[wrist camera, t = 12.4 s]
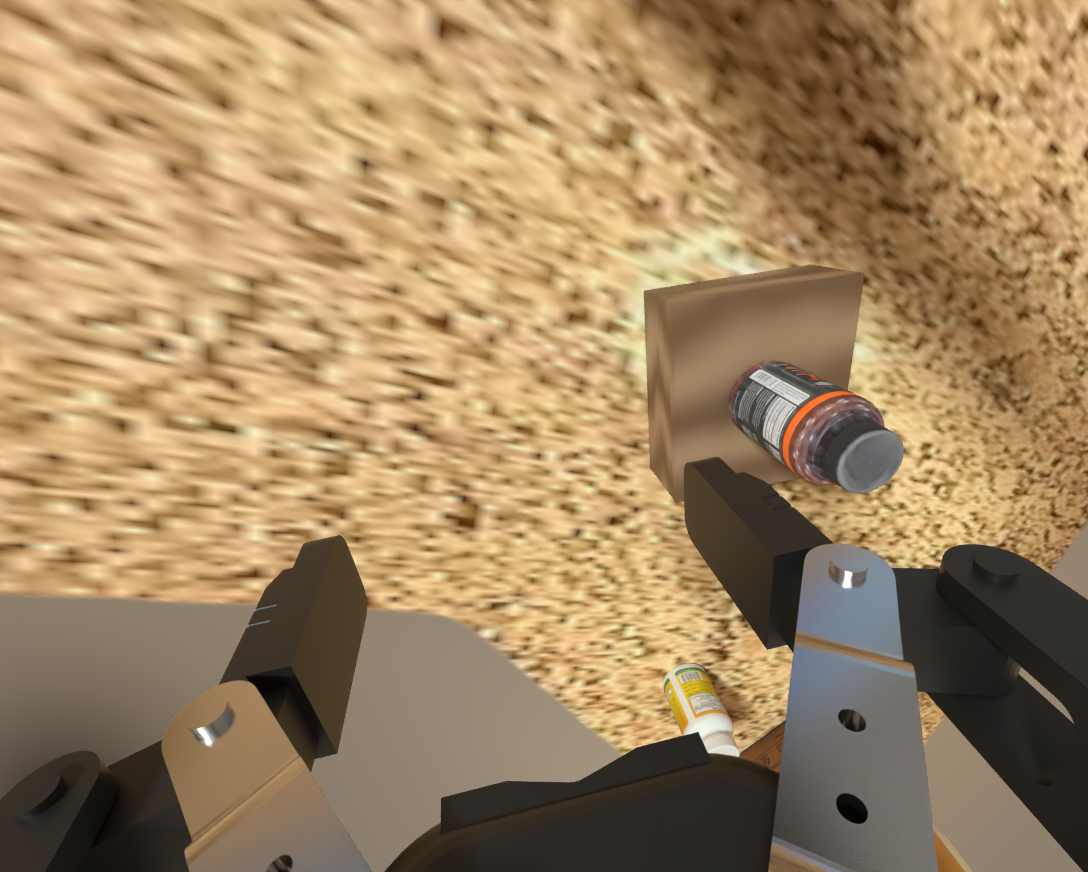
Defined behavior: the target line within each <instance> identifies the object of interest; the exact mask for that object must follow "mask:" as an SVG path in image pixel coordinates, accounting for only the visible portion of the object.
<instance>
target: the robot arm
mask: <svg viewBox="0 0 1088 872" xmlns="http://www.w3.org/2000/svg"><path fill="white" fill-rule="evenodd" d="M684 507H685V523H686V527H687V531H688V534H689V536H690V538H691V540H692V542H693V544H694V545H695V547H696V548H697V550H698V551H699V552H700V554H701V555H702V557H703V558H704V560H705V561H706V562H707V564H708V565H709V567H710V568H711V570H712V571H713V573H714V574H715V575H716V577H717V578H718V580H719V581H720V583H721V584H722V585H723V587H724V588H725V590H726V591H727V593H728V594H729V596H730V597H731V598H732V600H733V601H734V603H735V604H736V606H737V607H738V608H739V610H740V611H741V613H742V614H743V616H744V617H745V619H746V620H747V621H748V623H749V624H750V626H751V627H752V629H753V630H754V631H755V633H756V634H757V636H758V637H759V639H760V640H761V641H762V643H763V644H764V646H765V647H766V649H767V650H768V649H772V648H776V647H780V646H784V645H788V646H789V648H790V649H791V650H792V652H793V661H792V670H791V679H790V688H789V696H788V705H787V714H786V723H785V731H784V740H783V749H782V757H781V766H780V773H778V772H776V771H774V770H772V769H770V768H768V767H766V766H764V765H761V764H758V763H756V762H753V761H751V760H747V759H744V758H740V757H736V756H732V755H725V754H718V753H708V752H707V750H706V748H705V745H704V743H703V741H702V739H701V737H700V734H699V732H696V733H692V734H688V735H684V736H680V737H676V738H672V739H668V740H665V741H661V742H657V743H653V744H649V745H645V746H641V747H637V748H635V749H634V750H632V751H630V752H629V753H627V754H625V755H623V756H622V757H620V758H618V759H616V760H615V761H613V762H611V763H610V764H608V765H606V766H604V767H603V768H601V769H599V770H598V771H596V772H594V773H592V774H591V775H589V776H587V777H585V778H584V779H582V780H580V781H577V782H570V783H566V782H564V783H563V782H521V781H505V782H501V783H498V784H493V785H490V786H486V787H482V788H478V789H474V790H470V791H466V792H462V793H459V794H455V795H451V796H447V797H443V798H441V823H440V824H438V825H436V826H434V827H433V828H431V829H430V830H429V831H427V832H426V833H424V834H423V835H421V836H420V837H419V838H417V839H416V840H415V841H414V842H413V843H412V844H410V845H409V846H408V847H407V848H406V849H405V850H404V851H403V852H402V853H401V854H400V855H399V856H398V857H397V858H396V859H395V860H394V861H393V863H392V864H391V865H390V866H389V867H388V868H387V869H386V871H385V872H938V865H937V856H936V848H935V839H934V831H933V822H932V813H931V805H930V796H929V788H928V779H927V772H926V762H925V753H924V745H923V736H922V727H921V719H920V710H919V702H918V693H917V691H921V692H926V693H927V694H928V695H929V697H930V698H931V699H932V700H933V701H934V702H935V703H936V705H937V706H938V707H939V708H940V709H941V710H942V711H943V712H944V714H945V715H946V716H947V717H948V718H949V719H950V720H951V722H953V724H954V725H955V726H956V727H957V728H958V730H959V731H960V732H961V733H962V734H963V735H964V736H965V737H966V738H967V740H968V741H969V742H970V743H971V744H972V745H973V747H975V749H976V750H977V751H978V752H979V753H980V754H981V756H982V757H983V758H984V759H985V760H986V761H987V763H988V764H989V765H990V766H991V767H992V768H993V769H994V770H995V772H996V773H997V774H998V775H999V776H1000V777H1001V778H1002V779H1003V781H1004V782H1005V783H1006V784H1007V785H1008V786H1009V787H1010V789H1011V790H1012V791H1013V792H1014V793H1015V794H1016V795H1017V797H1018V798H1019V799H1020V800H1021V801H1022V802H1023V803H1024V805H1025V806H1026V807H1027V808H1028V809H1029V810H1030V811H1031V813H1032V814H1033V815H1034V816H1035V817H1036V818H1037V819H1038V821H1040V823H1041V824H1042V825H1043V826H1044V827H1045V829H1046V830H1047V831H1048V832H1049V833H1050V834H1051V835H1052V836H1053V838H1054V839H1055V840H1056V841H1057V842H1058V843H1059V844H1060V846H1061V847H1062V848H1063V849H1064V850H1065V851H1066V852H1067V853H1068V854H1069V856H1070V857H1071V858H1072V859H1073V860H1074V861H1075V863H1076V864H1077V865H1078V866H1079V867H1080V868H1081V869H1082V871H1083V872H1088V600H1087V599H1086V598H1084V597H1083V596H1081V595H1079V594H1078V593H1077V592H1075V591H1074V590H1072V589H1071V588H1069V587H1068V586H1066V585H1065V584H1064V583H1062V582H1061V581H1059V580H1057V579H1056V578H1055V577H1053V576H1052V575H1050V574H1049V573H1047V572H1046V571H1044V570H1043V569H1041V568H1040V567H1038V566H1037V565H1035V564H1034V563H1032V562H1031V561H1029V560H1027V559H1025V558H1023V557H1021V556H1019V555H1017V554H1015V553H1012V552H1010V551H1006V550H1003V549H1000V548H996V547H992V546H985V545H976V544H966V545H959V546H955V547H952V548H950V549H948V550H947V551H946V552H945V553H944V555H943V558H942V562H941V565H940V569H916V568H891V567H890V566H889V564H888V563H887V562H885V561H884V560H883V559H882V558H880V557H879V556H877V555H876V554H874V553H872V552H870V551H868V550H865V549H863V548H860V547H856V546H852V545H847V544H834V543H833V542H831V541H830V540H829V539H828V538H827V537H826V536H825V535H824V534H823V533H822V532H820V531H819V530H818V529H817V528H816V527H815V526H814V525H813V524H812V523H810V522H809V521H808V520H807V519H806V518H805V517H804V516H803V515H802V514H801V513H799V512H798V511H797V510H796V509H795V508H794V507H793V508H792V507H791V504H789V503H788V502H787V501H786V500H785V499H784V498H783V497H780V496H779V494H778V493H777V492H776V491H775V490H774V489H773V488H772V487H771V486H770V485H769V484H767V483H766V482H765V481H763V480H761V479H759V478H757V477H754V476H752V475H750V474H748V473H745V472H742V473H738V474H736V473H735V472H734V471H733V470H732V469H731V468H730V467H729V466H728V465H727V464H726V463H725V462H724V461H723V460H722V459H721V458H719V457H712V458H707V459H702V460H698V461H693V462H688V463H686V464H685V466H684ZM256 609H257V611H255V612H254V614H253V615H252V618H251V620H250V622H249V627H248V628H246V630H245V632H244V634H243V636H242V638H241V640H240V642H239V644H238V647H237V648H236V651H235V653H234V655H233V657H232V659H231V661H230V663H229V665H228V667H227V669H226V671H225V673H224V675H223V678H222V679H221V682H220V684H219V685H218V686H215V687H213V688H211V689H209V690H207V691H206V692H204V693H202V694H201V695H199V696H198V697H196V698H195V699H194V700H192V701H191V702H190V703H189V704H187V705H186V706H185V707H184V708H183V709H182V710H181V711H180V712H179V713H178V714H177V715H176V717H175V718H174V719H173V720H172V722H171V723H170V725H169V726H168V728H167V730H166V732H165V734H164V737H163V740H161V741H159V742H157V743H155V744H153V745H151V746H149V747H147V748H145V749H143V750H141V751H139V752H137V753H134V754H132V755H130V756H129V757H126V758H124V759H122V760H120V761H118V762H116V763H114V764H112V765H110V766H108V767H107V766H106V765H105V764H104V763H103V761H102V760H101V759H100V758H99V757H98V756H97V755H96V754H95V753H93V752H89V751H78V752H74V753H70V754H67V755H64V756H61V757H59V758H57V759H55V760H53V761H51V762H49V763H47V764H45V765H43V766H42V767H40V768H39V769H37V770H36V771H34V772H32V773H31V774H30V775H28V776H27V777H26V778H24V779H23V780H22V781H20V782H19V783H18V784H17V785H16V786H14V787H13V788H12V789H11V790H10V791H9V792H8V793H7V794H6V795H5V796H4V797H3V798H2V799H1V800H0V872H373V871H372V869H371V867H370V866H369V864H368V863H367V861H366V859H365V858H364V857H363V855H362V853H361V852H360V850H359V849H358V847H357V845H356V844H355V842H354V840H353V839H352V837H351V836H350V834H349V832H348V831H347V829H346V828H345V826H344V825H343V823H342V821H341V820H340V818H339V817H338V815H337V813H336V812H335V810H334V809H333V807H332V806H331V804H330V802H329V801H328V799H327V798H326V796H325V794H324V793H323V791H322V790H321V788H320V786H319V785H318V783H317V782H316V780H315V778H314V777H313V775H312V774H311V771H312V766H313V762H314V759H317V758H321V757H325V756H329V755H333V754H337V752H338V747H339V742H340V738H341V732H342V728H343V724H344V718H345V714H346V709H347V705H348V700H349V695H350V690H351V686H352V681H353V676H354V671H355V667H356V662H357V657H358V652H359V648H360V643H361V638H362V634H363V629H364V624H365V620H366V614H367V600H366V594H365V589H364V586H363V584H362V581H361V579H360V576H359V574H358V571H357V569H356V566H355V563H354V561H353V558H352V556H351V553H350V551H349V548H348V546H347V543H346V541H345V539H344V538H343V537H342V536H340V535H339V536H334V537H329V538H324V539H320V540H315V541H310V542H306V543H304V544H303V546H302V548H301V550H300V553H299V555H298V557H297V560H296V562H295V564H294V566H293V568H291V569H286V570H283V571H282V572H281V573H280V574H279V575H278V576H277V577H276V578H275V579H274V580H273V581H272V582H271V583H270V585H269V586H268V587H267V588H266V589H265V591H264V593H263V595H262V597H261V599H260V601H259V603H258V605H257V607H256ZM1021 667H1022V668H1023V669H1024V670H1026V671H1027V672H1028V673H1029V674H1030V675H1031V676H1032V677H1033V678H1035V679H1036V680H1037V681H1038V682H1039V683H1040V684H1041V685H1043V686H1044V687H1045V688H1046V689H1047V690H1048V691H1049V692H1050V693H1052V694H1053V695H1054V696H1055V697H1056V698H1057V699H1058V700H1059V701H1060V702H1061V703H1062V704H1063V705H1064V707H1065V708H1066V709H1067V711H1068V712H1069V714H1070V716H1071V717H1072V719H1073V722H1074V724H1073V723H1072V722H1071V721H1070V720H1069V719H1068V718H1067V717H1066V716H1065V715H1063V714H1062V713H1061V712H1060V711H1059V710H1058V709H1057V708H1056V707H1055V706H1053V705H1052V704H1051V703H1050V702H1049V701H1048V700H1047V699H1046V698H1044V697H1043V696H1042V695H1041V694H1040V693H1039V692H1038V691H1037V690H1036V689H1034V687H1032V686H1031V685H1030V684H1029V683H1028V682H1027V681H1026V680H1025V679H1023V678H1022V677H1021V676H1020V675H1019V671H1020V668H1021Z"/></svg>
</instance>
